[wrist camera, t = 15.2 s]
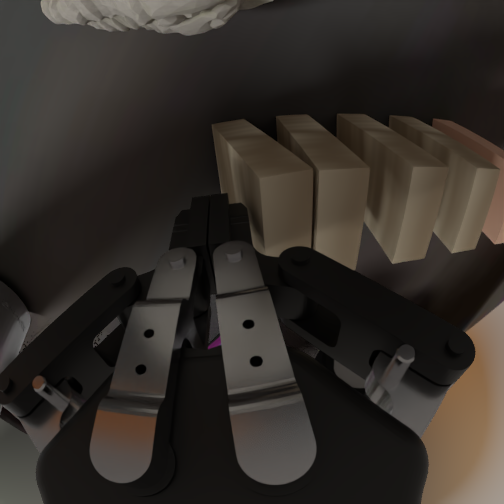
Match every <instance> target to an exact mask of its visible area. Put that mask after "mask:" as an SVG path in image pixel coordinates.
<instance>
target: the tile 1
mask: <svg viewBox="0 0 504 504" xmlns="http://www.w3.org/2000/svg"><path fill="white" fill-rule="evenodd" d="M212 131H213V138H214V145H215V152H216V159H217V166H218V173H219V180H220V187H221V193H228V198H229V204H233V203H240V202H241V203H242V204H243V205H244V206H246V207H247V211H248V217H249V223H250V230H251V236H252V242H253V246H254V248H255V249H256V250H257V251H258V252H260V253H261V254H264V255H267V256H273V257H279V255H280V254H281V253H282V252H283V251H284V250H286V249H288V248H290V247H295V246H304V247H309V248H311V235H312V208H313V168H312V167H310V166H309V165H308V164H306V163H305V162H304V161H302V160H301V159H300V158H298V157H297V156H296V155H294V154H293V153H292V152H290V151H289V150H288V149H286V148H285V147H283V146H282V145H281V144H279V143H278V142H277V141H275V140H274V139H272V138H271V137H269V136H268V135H267V134H265V133H264V132H262V131H261V130H259V129H258V128H256V127H255V126H253V125H252V124H251V123H249V122H248V121H246V120H245V119H240V120H233V121H227V122H221V123H216V124H212Z"/></svg>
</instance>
